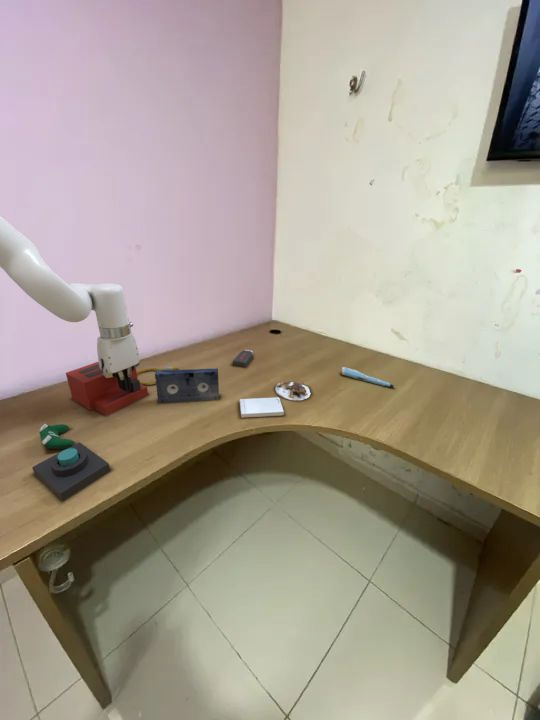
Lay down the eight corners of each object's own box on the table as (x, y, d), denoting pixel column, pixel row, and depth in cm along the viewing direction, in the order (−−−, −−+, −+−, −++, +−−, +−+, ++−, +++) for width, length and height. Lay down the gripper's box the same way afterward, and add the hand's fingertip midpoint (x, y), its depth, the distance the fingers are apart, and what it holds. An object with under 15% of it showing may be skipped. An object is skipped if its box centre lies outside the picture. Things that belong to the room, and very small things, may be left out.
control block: (34, 474, 67) (29, 460, 65) (81, 449, 75) (77, 435, 73) (62, 501, 61) (57, 486, 60) (110, 470, 69) (107, 457, 67)
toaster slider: (129, 389, 94) (127, 381, 93) (135, 386, 96) (134, 378, 95) (133, 392, 93) (132, 383, 92) (140, 389, 95) (139, 380, 94)
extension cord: (174, 386, 103) (173, 381, 102) (125, 386, 102) (124, 381, 101) (181, 369, 114) (180, 364, 113) (137, 369, 113) (136, 364, 112)
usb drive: (232, 365, 119) (232, 359, 118) (242, 353, 130) (242, 347, 128) (245, 367, 118) (245, 361, 117) (254, 355, 128) (254, 349, 127)
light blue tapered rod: (339, 375, 115) (340, 368, 114) (342, 372, 118) (343, 365, 117) (393, 390, 107) (395, 383, 106) (395, 386, 109) (396, 379, 108)
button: (56, 461, 66) (54, 455, 65) (73, 452, 69) (71, 446, 68) (64, 469, 64) (62, 462, 63) (82, 459, 67) (80, 452, 66)
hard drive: (279, 396, 97) (239, 398, 95) (284, 411, 90) (241, 413, 88) (278, 401, 98) (239, 402, 96) (283, 416, 90) (241, 418, 89)
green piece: (59, 436, 81) (35, 430, 77) (69, 424, 81) (45, 417, 77) (66, 456, 75) (40, 450, 70) (76, 443, 75) (51, 436, 71)
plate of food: (318, 396, 101) (320, 386, 100) (287, 404, 96) (287, 393, 94) (300, 380, 110) (301, 371, 109) (270, 387, 105) (270, 377, 104)
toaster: (72, 399, 94) (65, 372, 90) (120, 379, 106) (116, 354, 102) (102, 417, 86) (96, 389, 82) (151, 393, 98) (147, 368, 95)
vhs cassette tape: (219, 395, 99) (218, 367, 95) (219, 400, 97) (218, 372, 92) (159, 398, 96) (155, 369, 92) (157, 403, 94) (154, 374, 90)
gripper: (131, 321, 91) (139, 375, 99) (79, 334, 80) (93, 395, 88) (147, 326, 88) (155, 382, 96) (95, 341, 76) (109, 404, 84)
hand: (125, 388), depth 92 cm, fingers closed
